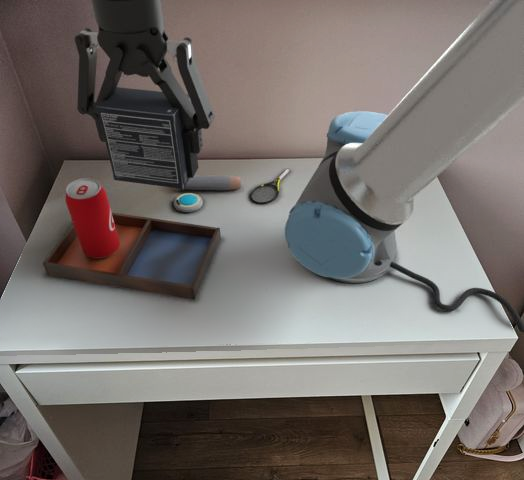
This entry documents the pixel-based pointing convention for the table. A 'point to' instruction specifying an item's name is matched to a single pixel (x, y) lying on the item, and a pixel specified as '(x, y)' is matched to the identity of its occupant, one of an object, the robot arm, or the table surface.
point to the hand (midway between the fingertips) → (155, 167)
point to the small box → (144, 138)
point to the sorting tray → (142, 257)
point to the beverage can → (92, 217)
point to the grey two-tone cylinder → (213, 182)
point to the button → (188, 202)
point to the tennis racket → (269, 187)
